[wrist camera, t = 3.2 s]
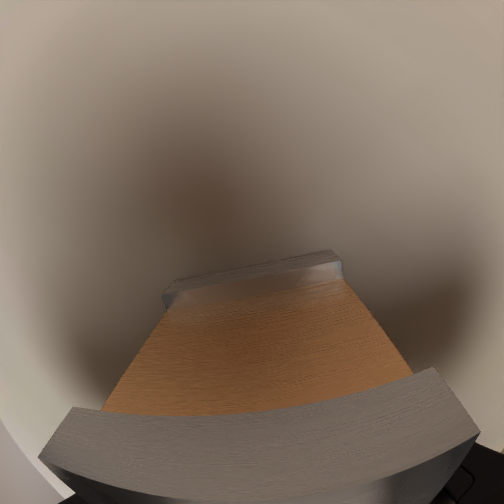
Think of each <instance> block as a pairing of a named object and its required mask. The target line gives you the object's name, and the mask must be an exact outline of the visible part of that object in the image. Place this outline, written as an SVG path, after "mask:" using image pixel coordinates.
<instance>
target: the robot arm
mask: <svg viewBox="0 0 504 504" xmlns="http://www.w3.org/2000/svg"><path fill="white" fill-rule="evenodd" d="M58 504H90V503H88V502H87V501H86V500H84V499H83V498H82V497H81V496H79V495H78V494H77V493H75V494H74V495H72V496H70V497H69V498H67V499H65V500H63V501H62V502H60V503H58ZM429 504H504V454H502V453H499V452H497V451H494V450H492V449H489V448H487V447H485V446H482V445H480V444H478V443H476V442H474V444H473V446H472V447H471V449H470V450H469V452H468V453H467V455H466V456H465V458H464V459H463V461H462V462H461V464H460V465H459V467H458V468H457V469H456V471H455V472H454V474H453V475H452V476H451V478H450V479H449V480H448V482H447V483H446V484H445V485H444V487H443V488H442V489H441V490H440V491H439V493H438V494H437V495H436V496H435V497H434V499H433V500H432V501H431V502H430V503H429Z"/></svg>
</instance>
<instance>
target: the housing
mask: <svg viewBox="0 0 504 504" xmlns="http://www.w3.org/2000/svg"><path fill="white" fill-rule="evenodd" d="M162 297H163V300H164V303H165V306H166V309H167V312H166V313H165V314H164V316H163V317H162V319H161V320H160V321H159V323H158V324H157V326H156V327H155V329H154V330H153V332H152V333H151V334H150V336H149V337H148V339H147V340H146V342H145V343H144V345H143V346H142V348H141V349H140V351H139V352H138V353H137V355H136V356H135V358H134V359H133V361H132V362H131V364H130V365H129V367H128V368H127V370H126V371H125V373H124V374H123V376H122V377H121V379H120V380H119V382H118V383H117V385H116V387H115V388H114V390H113V391H112V393H111V394H110V396H109V397H108V399H107V400H106V402H105V404H104V405H103V407H102V408H101V410H100V411H98V410H91V409H84V408H78V407H72V409H71V410H70V412H69V413H68V414H67V416H66V417H65V418H64V420H63V421H62V423H61V424H60V425H59V427H58V428H57V430H56V431H55V433H54V434H53V435H52V437H51V438H50V440H49V441H48V443H47V444H46V446H45V447H44V448H43V450H42V451H41V453H40V454H39V456H38V458H39V459H40V460H41V461H42V462H43V463H44V464H45V465H46V466H47V467H48V468H49V469H50V470H51V471H52V472H53V473H54V474H55V475H56V476H57V477H58V478H59V479H60V480H62V481H63V482H64V483H65V484H66V485H67V486H68V487H70V488H71V489H72V490H73V491H74V492H76V493H77V494H78V495H79V496H81V497H82V498H83V499H84V500H86V501H87V502H88V503H90V504H429V503H430V502H431V501H432V500H433V499H434V497H435V496H436V495H437V494H438V493H439V491H440V490H441V489H442V488H443V487H444V485H445V484H446V483H447V482H448V480H449V479H450V478H451V476H452V475H453V474H454V472H455V471H456V469H457V468H458V467H459V465H460V464H461V462H462V461H463V459H464V458H465V456H466V455H467V453H468V452H469V450H470V449H471V447H472V446H473V444H474V442H475V441H476V439H477V437H478V436H479V434H480V432H481V431H480V430H479V428H478V427H477V425H476V424H475V423H474V421H473V420H472V418H471V417H470V415H469V414H468V412H467V411H466V410H465V408H464V407H463V405H462V404H461V403H460V401H459V400H458V398H457V397H456V396H455V394H454V393H453V392H452V390H451V389H450V388H449V386H448V385H447V384H446V382H445V381H444V380H443V378H442V377H441V376H440V374H439V373H438V372H437V371H436V369H435V368H434V367H430V368H428V369H425V370H423V371H420V372H418V373H415V374H414V373H413V372H412V371H411V369H410V368H409V366H408V365H407V363H406V362H405V360H404V359H403V357H402V356H401V355H400V353H399V352H398V350H397V349H396V348H395V346H394V345H393V343H392V342H391V340H390V339H389V338H388V336H387V335H386V334H385V332H384V331H383V329H382V328H381V327H380V325H379V324H378V323H377V321H376V320H375V319H374V317H373V316H372V315H371V313H370V312H369V311H368V309H367V308H366V307H365V305H364V304H363V303H362V301H361V300H360V299H359V297H358V296H357V295H356V294H355V292H354V291H353V290H352V288H351V287H350V286H349V285H348V283H347V282H346V281H345V279H344V278H343V271H342V263H341V260H340V259H339V258H338V256H337V255H336V254H335V253H334V252H333V251H332V250H328V251H324V252H319V253H314V254H309V255H304V256H299V257H294V258H290V259H285V260H280V261H275V262H270V263H265V264H260V265H255V266H250V267H244V268H239V269H234V270H229V271H224V272H219V273H214V274H208V275H203V276H198V277H193V278H187V279H182V280H177V281H173V282H172V283H171V285H170V286H169V287H168V288H167V289H166V290H165V292H164V293H163V294H162Z"/></svg>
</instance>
